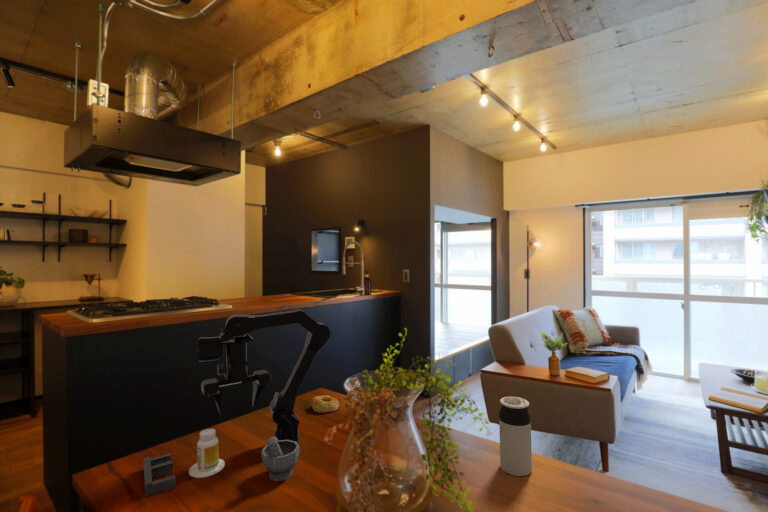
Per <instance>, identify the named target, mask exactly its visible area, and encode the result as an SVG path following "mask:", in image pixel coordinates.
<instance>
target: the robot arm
mask: <svg viewBox="0 0 768 512" xmlns="http://www.w3.org/2000/svg"><path fill="white" fill-rule="evenodd" d="M293 324H298V325H301V327H303V328H304V329H305V330H307V333H306V336H305V342H304V346H303V349H302V351H301V353H300V355H299V358H298V360H297V362H295V363H296V364H295V366H294V368H293V370H292V372H291V374H290V375H289V377H288V380H287V382H286V384H285V386H284V387H283V389H282V390H281V391H280V392H278V391H274V395H273V398H272V400H271V401H270V402H269V405H270V407H269V411H270V415H271V418H272V421H273V422H274V423H275V424H276V428H275V431H274V436H275V437H277V439H278V441H279V440H292V441H296V442H297V443H298V445H299V446H300V444H299V443H300V436H299V423H300V421H299V418H298V416H297V414H296V411H295V410H294V409H295V405H296V399H297V398H296V397H297V394H298V393H299V390H300V388H301V387H302V385H303V382H304V380H305V378H306V377H307V374H308V372H309V370H310V368H311V366H312V363H313V361H314V359H316V355H317V354H318V352H320V351H321V350H322V348H323V347H324V346H325V345H326V344H327V342H328V341H329V339H330V336H331V330H330V328H329V326H327V325H326V324H324V323H323V322H320V321H315V320H314V319H313V318H312V317H310V316H309V315H307V314H306V312H305V311H303V310H302V309H300V308H299V309H294V310H289V311H287V310H286V311H280V312H273V313H266V314H258V315H257V314H255V315H254V314H242V313H240V314H239V313H237V314H235V313H233V314H231V315H229V317H228V318H227V319H226V322H225V327H224V329H223V330H222V331H221V332H220V334H219V336H210V337H203V336H201V337H199V338H198V350H197V361H198V363H204V362H211V361H219V360H220V359H221V358H222V357H223V356H225V357H226V359H225V363H224V362H223V363H217V364H216V373H217V376H221V375H223V377H224V378H225V379H223V380H218V379H217V378H216V377H213V378H209V379H205V380H204V379H203V380H202V381H201V383H200V387H201V388H200V389H201V392H202V395H204V396H208V398H213V399H214V401H215V404H216V407H217V409H218V412H219V415H220V416H221V415H223V404H222V396H221V392H220V388H221V389H222V388H226V387H232V386H236V385H242V384H247V383H251V382H252V398H251V399H252V400H251V401H252V407H253V408H255V407H256V405H257V403H258V400H259V398H260V395H261V394H262V391H263V390H264V387H266V386H268V384H269V383H270V384H271V383H272V374H271V373H270V372H269V371H268V370H266V369H261V370H260V369H259V370H254V371H253V373H252V374H251V375H248V364H249V362H248V347H247V346H248V343H251V342H254V338H253V337H252V336H251V335H250V334H249V333H251V332H252V333H253V332H255V331H256V330H260V329H267V328H272V327H279V326H280V327H281V326H287V325H293ZM232 338H233V339H232ZM224 345H225V346H226V347H225V348H224ZM224 349H225V350H224ZM224 351H225V352H224ZM224 353H225V355H224Z"/></svg>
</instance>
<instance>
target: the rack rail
mask: <svg viewBox="0 0 768 512" xmlns="http://www.w3.org/2000/svg"><path fill="white" fill-rule="evenodd" d="M173 463H174V462H173V460H172V453H171V452H169V453H166V454H162V455H158V456H154V457H151V456H148V457H144V458H143V471H144V472H143V474H144V475H143V476H144V477H143V478H144V497H145V498H147V497H150V496H153V495H156V494H160V493H164V492H166V491H169V490H174V489H176V475H175V474H174V475H173V474H172V473H174V472H173V469H174V466H173V465H174V464H173ZM168 474H172V475H170V476H166V477H164V478H161V479H157V480H154V481H153V479H154V478H155V479H156V478H158V477H161V476H165V475H168Z"/></svg>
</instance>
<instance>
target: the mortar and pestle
mask: <svg viewBox="0 0 768 512" xmlns="http://www.w3.org/2000/svg"><path fill="white" fill-rule="evenodd" d="M300 449H301V448H300V444H299V445H298V443H297V442H296V441H292V440H279V441H278V439H277V437H275V435H274V436H271V437H269V438H267V441H266V445H265V446H264V447H263V448H262V450H261V454H260V455H261V459H262V463H263V465H264V466H263V467H265V469H266V471H267V472H268V477H269V479H270V480H271V481H275V482H281V481H285V480H287V479H290V478H291V477H292V475H293V473H294V466H295V465H296V464H297V461H298V459H299V457H300Z"/></svg>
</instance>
